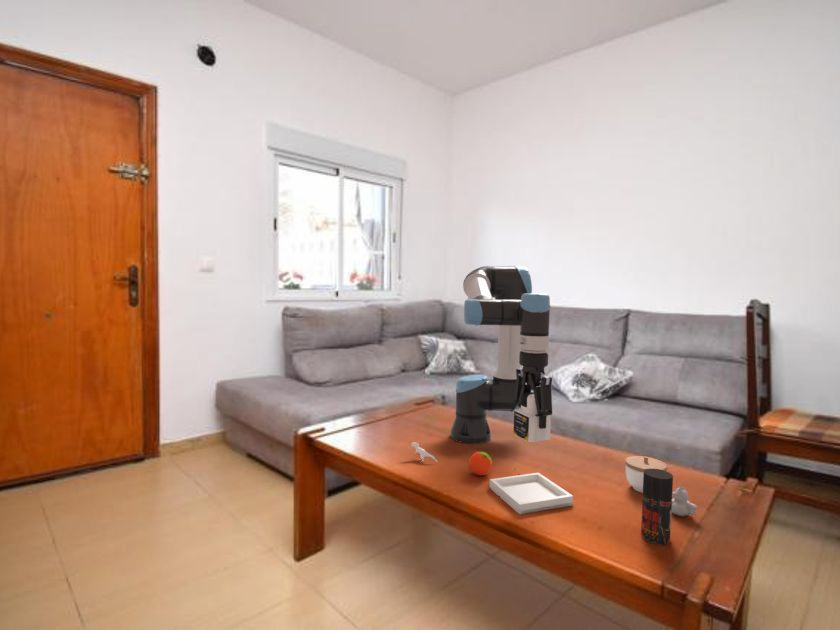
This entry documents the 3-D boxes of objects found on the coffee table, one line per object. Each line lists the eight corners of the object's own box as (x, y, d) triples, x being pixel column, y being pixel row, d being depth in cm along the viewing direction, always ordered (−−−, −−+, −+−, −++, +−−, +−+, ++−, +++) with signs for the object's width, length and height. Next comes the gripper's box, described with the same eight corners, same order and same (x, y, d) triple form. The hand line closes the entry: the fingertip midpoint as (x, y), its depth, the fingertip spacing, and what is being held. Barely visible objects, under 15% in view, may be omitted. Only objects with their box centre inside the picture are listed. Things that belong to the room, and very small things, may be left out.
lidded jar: (649, 480, 138) (650, 449, 137) (674, 496, 127) (676, 463, 126) (616, 482, 136) (617, 451, 135) (639, 499, 125) (641, 465, 125)
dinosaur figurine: (450, 470, 150) (453, 451, 150) (425, 477, 141) (429, 456, 141) (417, 454, 160) (420, 436, 160) (392, 459, 151) (395, 440, 151)
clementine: (499, 475, 140) (499, 452, 139) (485, 482, 135) (485, 458, 134) (478, 468, 145) (478, 445, 145) (464, 474, 140) (464, 451, 140)
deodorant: (638, 529, 109) (641, 467, 108) (666, 533, 108) (669, 470, 107) (643, 542, 104) (646, 476, 103) (672, 546, 102) (675, 480, 101)
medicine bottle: (513, 434, 127) (514, 391, 126) (534, 432, 130) (536, 389, 129) (527, 442, 120) (529, 397, 120) (550, 440, 123) (551, 395, 122)
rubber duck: (673, 507, 120) (675, 477, 120) (701, 517, 115) (702, 486, 115) (663, 513, 117) (665, 482, 117) (691, 524, 112) (692, 492, 111)
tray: (489, 487, 131) (489, 479, 131) (538, 480, 136) (538, 472, 136) (519, 514, 116) (519, 504, 116) (572, 505, 121) (573, 495, 121)
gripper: (502, 346, 132) (500, 425, 133) (543, 357, 113) (541, 448, 114) (525, 345, 134) (523, 423, 136) (569, 355, 115) (566, 445, 117)
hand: (531, 434), depth 125 cm, fingers closed on medicine bottle, 7 cm apart
